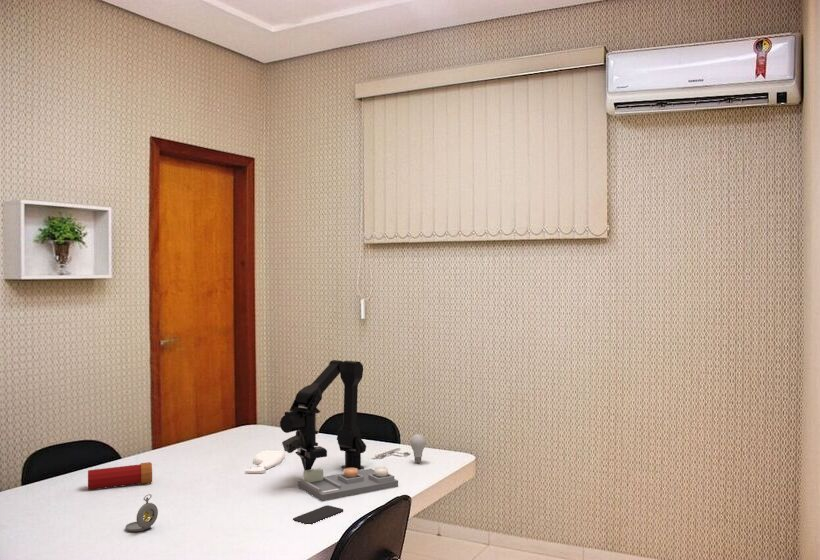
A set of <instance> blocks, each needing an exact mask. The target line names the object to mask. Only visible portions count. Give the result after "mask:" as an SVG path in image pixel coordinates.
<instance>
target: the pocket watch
mask: <svg viewBox="0 0 820 560" xmlns="http://www.w3.org/2000/svg"><path fill="white" fill-rule="evenodd" d="M149 496H150V497H149ZM152 496H153V495H152V494H150V493H149V494H147V495H145V496H144V497H143V501H145V503H144V504H143V505H141V507H140V508H139V509H138V511H137V514H136V519H135V520H136V521H133V522H129V523H127V524H126V525H125V530H126V531H128V532H132V533H133V532H138V533H139V532H142V531H145V530H148V529H150V528H151V527H152V526H153V525H154V524H155V522H156V520H157V519H158V515H159V509H158V507H157V505H156V504H155V503H153V502H149V500H150V499H151V498H152Z"/></svg>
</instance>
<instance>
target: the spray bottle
mask: <svg viewBox="0 0 820 560" xmlns="http://www.w3.org/2000/svg"><path fill="white" fill-rule="evenodd" d="M285 456H286V454H285V451H283V450H262V451H260V452H258V454H256V456H255V457H254V458H253V460H252V461H253V464H254V463H255V464H254V465H256V464H258V465H257V466H256V467H252V466H251V467H249V469H244V474H266V473H267V472H266V471H267V470H269V469H271V467H272V468H274V467H277V466H278V465H279V463H280V464H281V463H282V462H283V461H284V459H285ZM276 465H277V466H276ZM273 466H274V467H273Z"/></svg>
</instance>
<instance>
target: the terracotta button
mask: <svg viewBox="0 0 820 560" xmlns="http://www.w3.org/2000/svg"><path fill="white" fill-rule="evenodd" d="M358 471H359V469H357V468H343V473H344V476H345V477H356V476H358Z"/></svg>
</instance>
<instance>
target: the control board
mask: <svg viewBox="0 0 820 560" xmlns="http://www.w3.org/2000/svg"><path fill="white" fill-rule="evenodd" d="M298 487H299V488H298ZM397 487H399V480H398V479H396V478H395V475H393V474H390V473H389V472H388V475H387V476H383V477H379V476H375V469H372V468H367V469H362V470H361V469H359V470H358V476H356V477H345V476H344V472H343V473H338V474H337V473H336V474H332V475H331V474H330V475H327V476H326V475H325V476H324V475H323V480H321V481H316V482H310V483H309V482H307V481H305V480H304V478H299V480H298V481H297V488H298V489H300V488H301V489H300V490H302V489H303V490H302V491H304V490H305V491H306V492H305V491H304V492H305V493H307V492H308V493H307V494H309V493H310V494H309V495H311V496H312V495H313V496H312V497H314V498H315V499H317V498H318V501H321V502H327V501H331V500H332V501H333V500H336V499H340V498H341V499H342V498H346V497H352V496H357V495H362V494H366V493H373V492H376V491H377V492H378V491H382V490H388V489H393V488H397ZM326 500H327V501H326Z"/></svg>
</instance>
